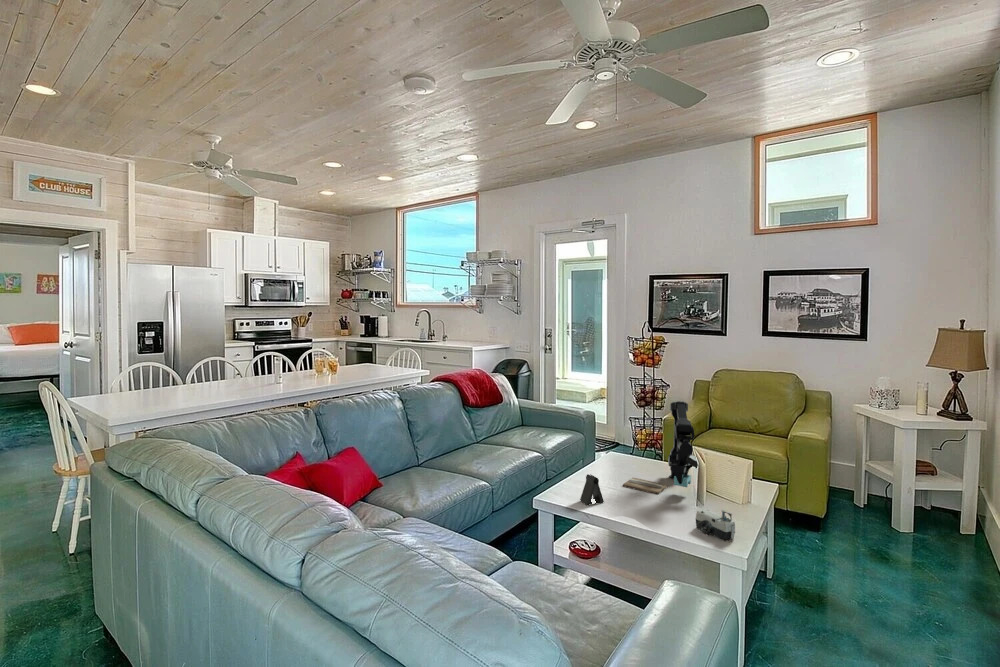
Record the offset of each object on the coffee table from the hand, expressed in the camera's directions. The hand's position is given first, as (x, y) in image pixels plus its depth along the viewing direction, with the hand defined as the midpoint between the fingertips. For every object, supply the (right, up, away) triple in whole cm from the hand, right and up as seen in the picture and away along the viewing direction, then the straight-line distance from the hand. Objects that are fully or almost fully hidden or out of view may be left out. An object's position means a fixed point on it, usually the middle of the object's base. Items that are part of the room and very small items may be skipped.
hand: (682, 482), depth 242 cm
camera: (-2, -9, -41) cm, 42 cm away
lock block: (0, -1, 0) cm, 1 cm away
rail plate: (-14, -6, +11) cm, 19 cm away
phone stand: (-45, -7, -10) cm, 46 cm away
